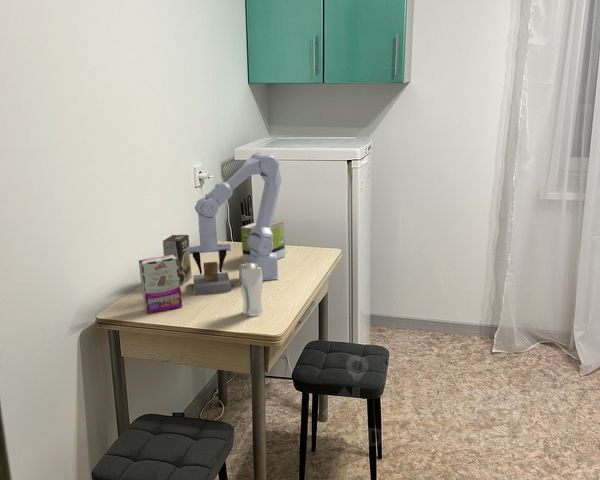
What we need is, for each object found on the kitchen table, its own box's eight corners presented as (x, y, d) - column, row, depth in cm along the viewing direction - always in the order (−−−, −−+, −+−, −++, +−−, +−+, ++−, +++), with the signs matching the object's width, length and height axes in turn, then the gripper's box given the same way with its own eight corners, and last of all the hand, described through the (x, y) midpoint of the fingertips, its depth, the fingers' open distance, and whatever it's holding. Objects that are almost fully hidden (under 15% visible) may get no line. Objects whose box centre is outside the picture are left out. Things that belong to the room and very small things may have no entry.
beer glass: (241, 309, 182) (238, 263, 178) (263, 308, 182) (261, 261, 179) (241, 317, 175) (238, 269, 171) (264, 316, 176) (262, 268, 172)
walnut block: (217, 276, 204) (216, 261, 202) (218, 280, 200) (217, 265, 198) (204, 278, 203) (203, 262, 202) (204, 282, 199) (203, 266, 197)
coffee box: (182, 285, 205) (179, 241, 201) (165, 285, 206) (161, 240, 202) (192, 277, 214) (189, 234, 209) (176, 276, 215) (172, 234, 211)
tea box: (266, 253, 242) (264, 218, 238) (285, 256, 236) (284, 221, 232) (242, 262, 230) (240, 225, 226) (262, 266, 224) (260, 229, 220)
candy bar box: (178, 302, 189) (173, 253, 185) (182, 307, 185) (178, 257, 180) (143, 309, 184) (138, 259, 180) (147, 314, 180) (141, 263, 176)
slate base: (228, 280, 209) (227, 272, 208) (230, 291, 198) (230, 283, 197) (193, 283, 207) (193, 275, 206) (194, 294, 196) (193, 286, 195)
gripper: (186, 238, 192) (189, 277, 196) (230, 235, 195) (233, 274, 199) (186, 233, 199) (189, 271, 203) (229, 230, 202) (231, 268, 205)
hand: (210, 272), depth 201 cm, fingers open, 6 cm apart
